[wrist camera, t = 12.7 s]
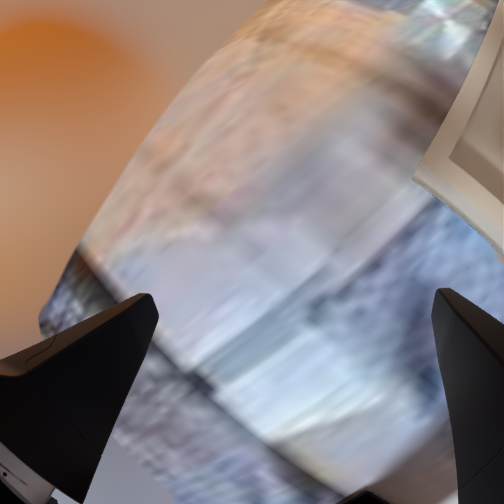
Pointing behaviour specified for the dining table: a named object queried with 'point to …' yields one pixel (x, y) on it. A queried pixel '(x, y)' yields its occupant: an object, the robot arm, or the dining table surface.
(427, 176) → the box
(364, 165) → the dining table surface
